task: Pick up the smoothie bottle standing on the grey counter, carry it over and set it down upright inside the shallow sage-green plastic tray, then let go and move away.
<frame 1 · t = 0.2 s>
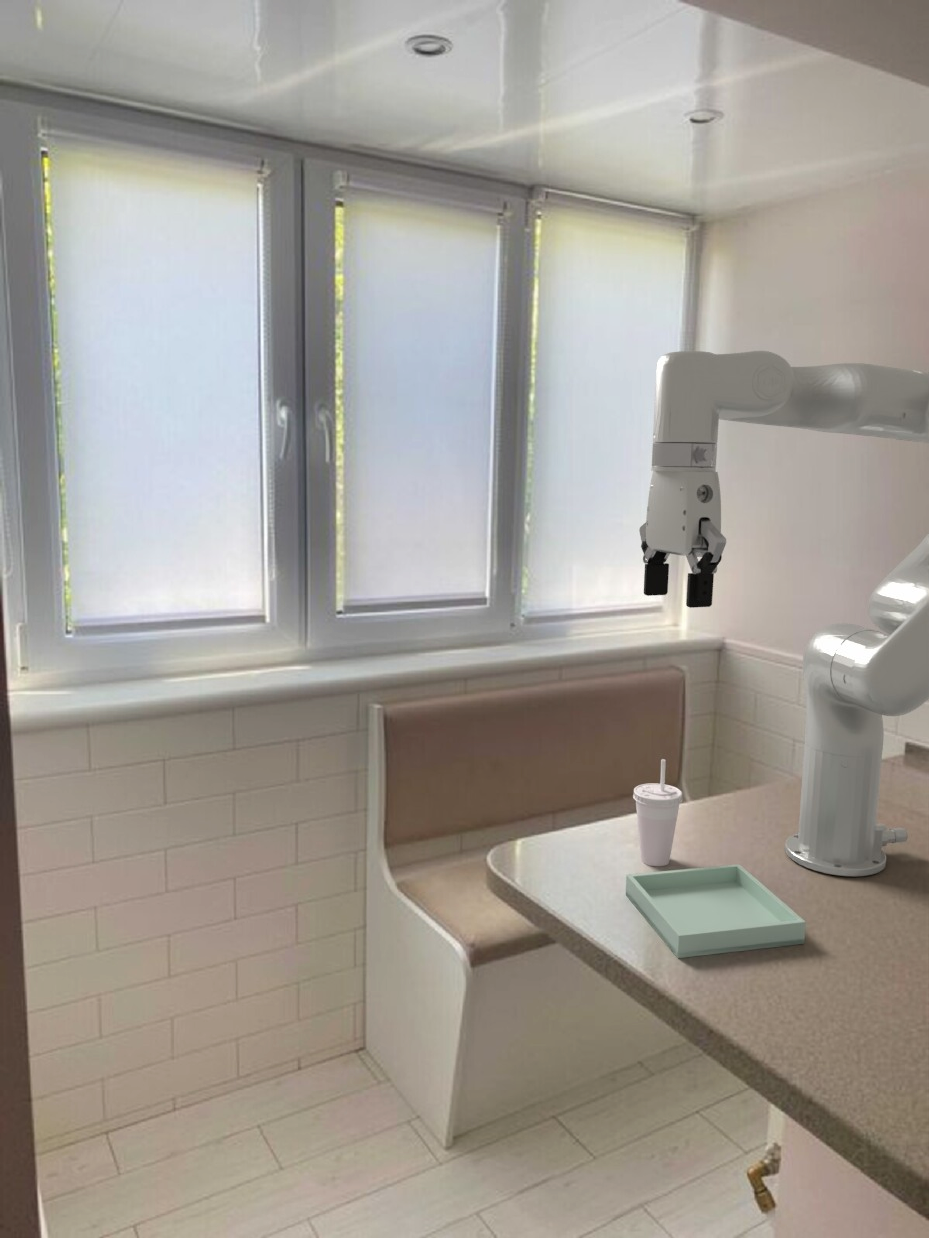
hand: (676, 600, 114), 36 cm above the table, tool pointing down, fingers open, 9 cm apart
smoothie: (655, 861, 124), on the table
tray: (710, 917, 109), on the table
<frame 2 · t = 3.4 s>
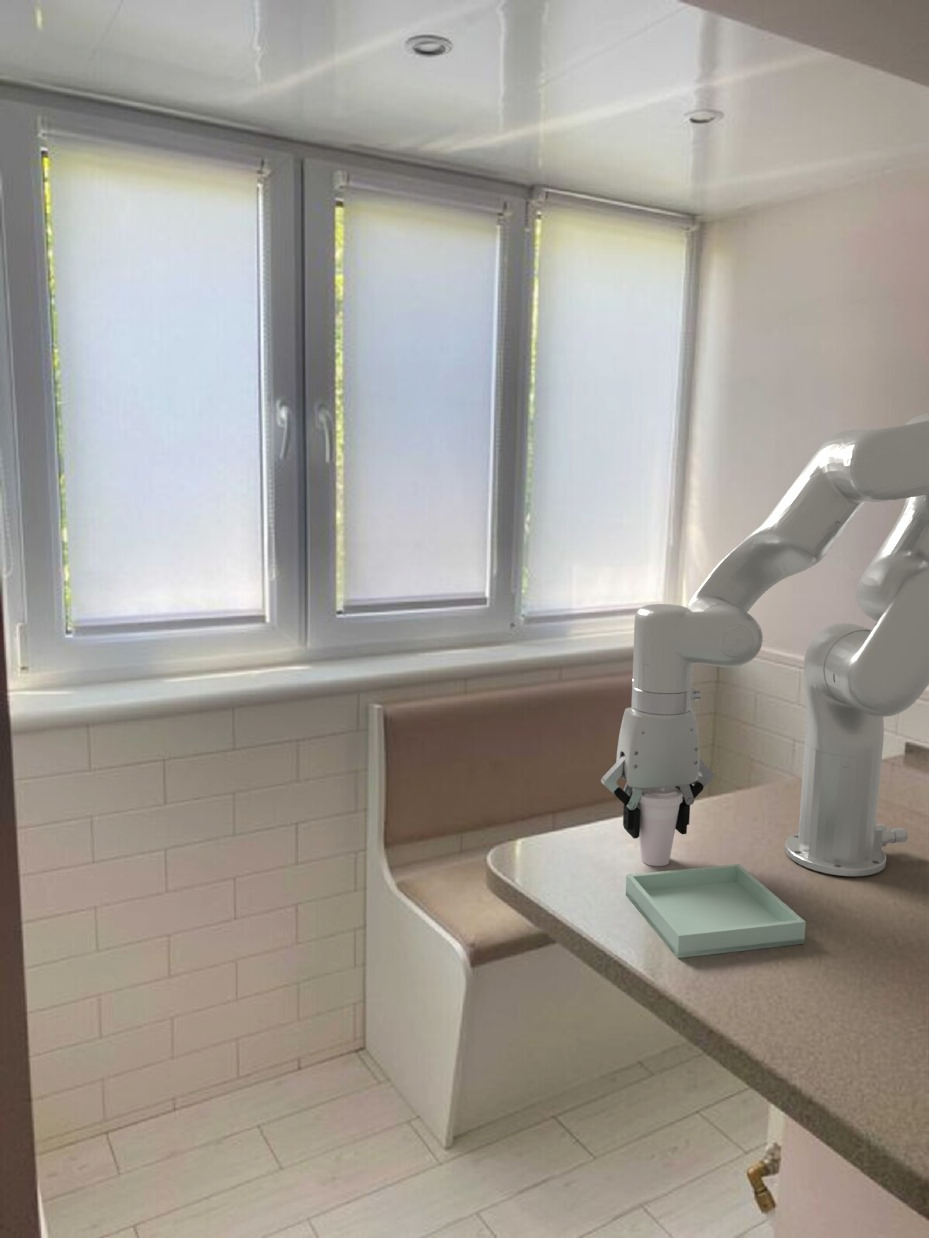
hand: (655, 831, 123), 4 cm above the table, tool pointing down, fingers closed on smoothie, 6 cm apart
smoothie: (654, 861, 124), on the table, touching gripper
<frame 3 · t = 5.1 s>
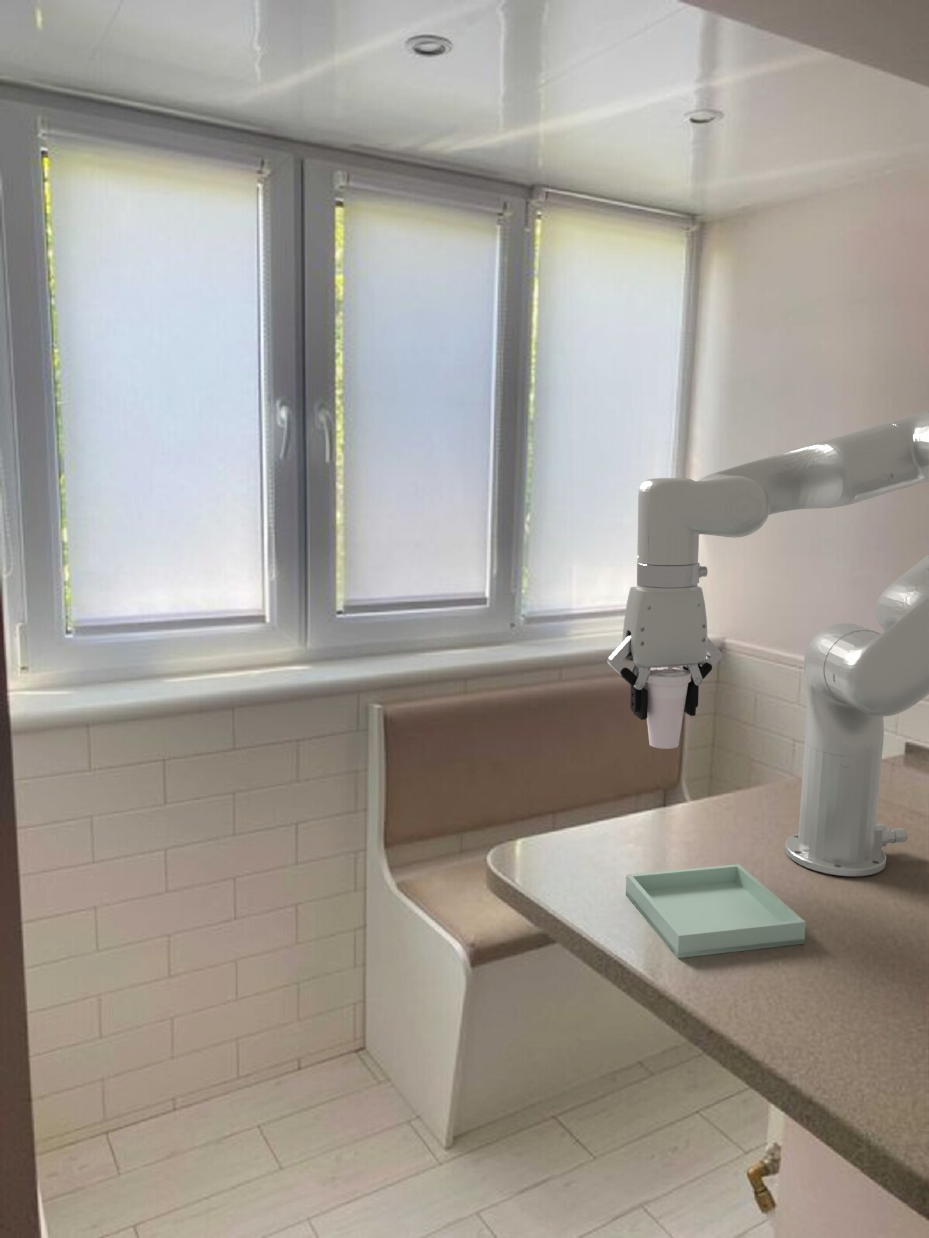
hand: (664, 713, 121), 20 cm above the table, tool pointing down, fingers closed on smoothie, 6 cm apart
smoothie: (663, 745, 121), point 16 cm above the table, touching gripper
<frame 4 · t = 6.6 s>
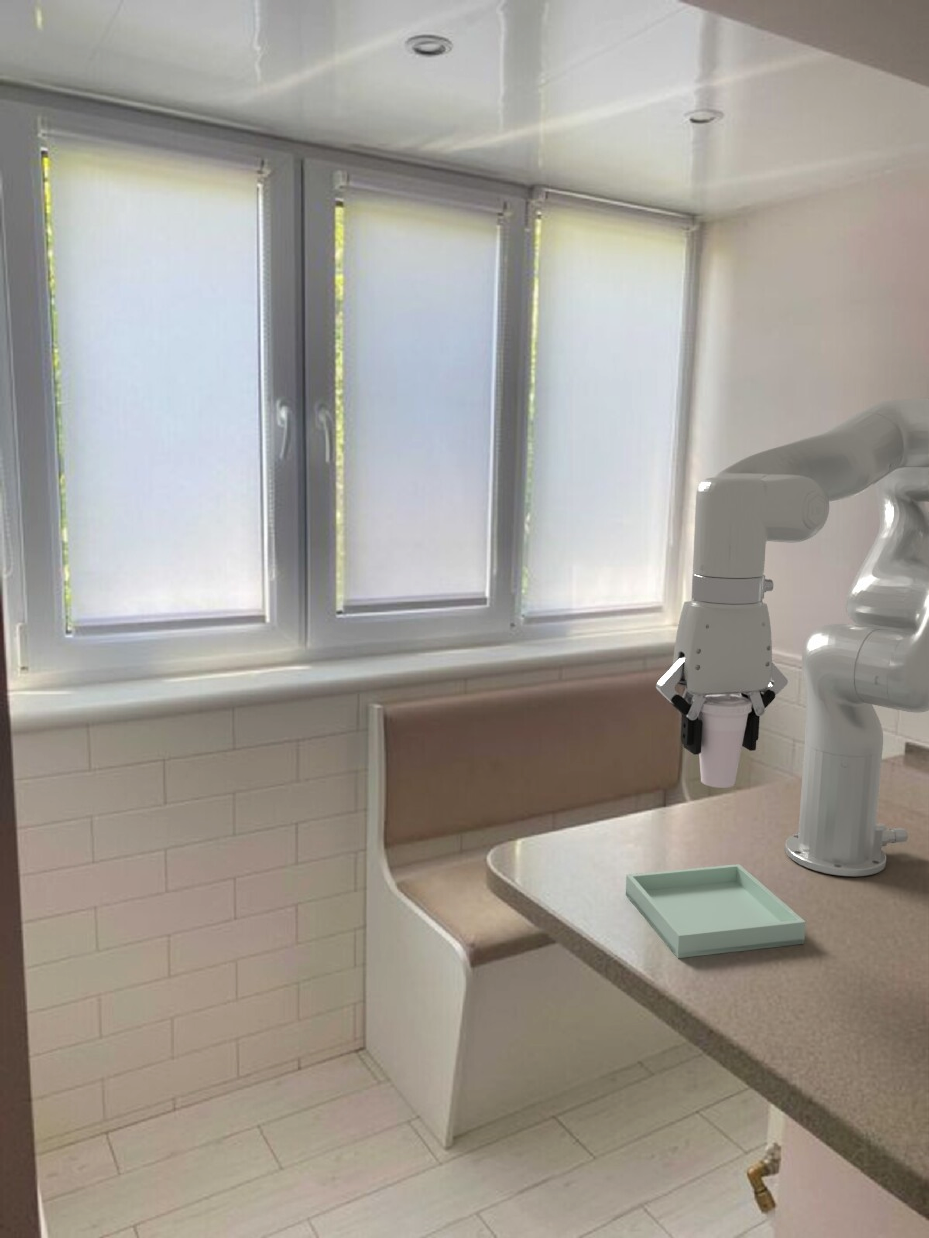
hand: (719, 747, 105), 21 cm above the table, tool pointing down, fingers closed on smoothie, 6 cm apart
smoothie: (717, 783, 106), point 16 cm above the table, touching gripper
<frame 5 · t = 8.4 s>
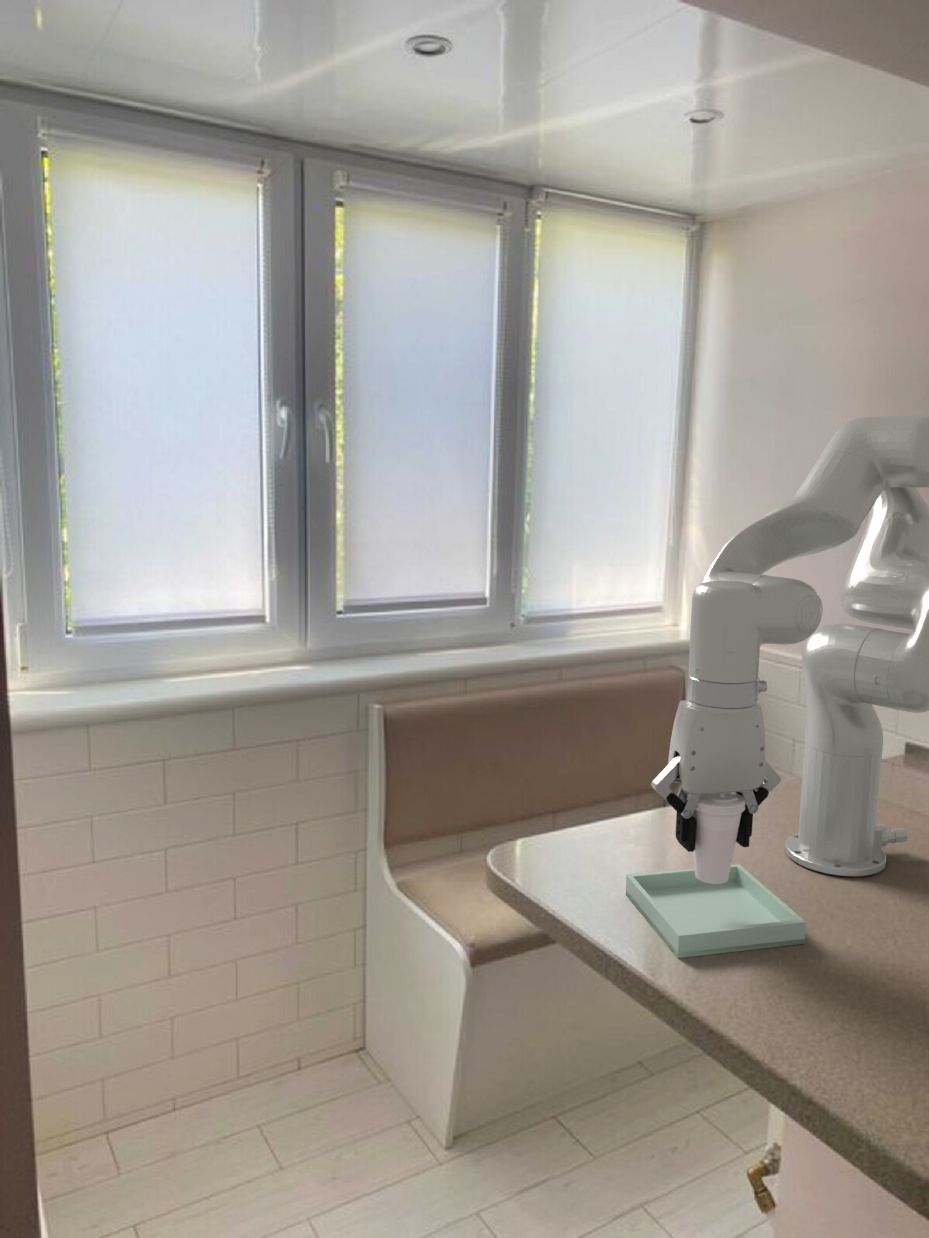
hand: (713, 843, 107), 9 cm above the table, tool pointing down, fingers closed on smoothie, 6 cm apart
smoothie: (711, 878, 108), point 5 cm above the table, touching gripper
when the fingers open (6 cm above the table, at t = 10.1 s): smoothie stays where it is, resting on tray.
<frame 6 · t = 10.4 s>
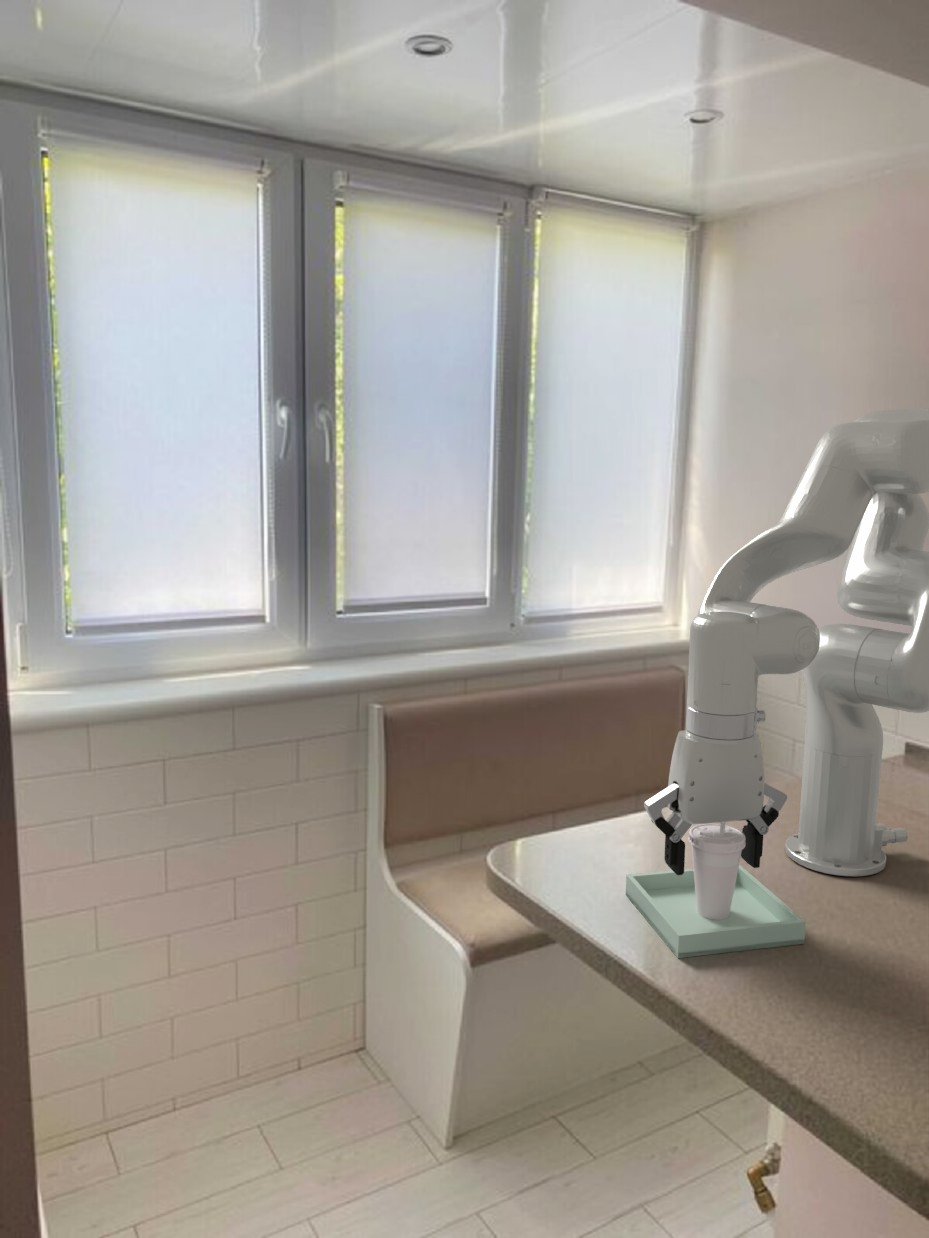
hand: (712, 866, 108), 6 cm above the table, tool pointing down, fingers open, 9 cm apart
smoothie: (712, 913, 109), resting on tray
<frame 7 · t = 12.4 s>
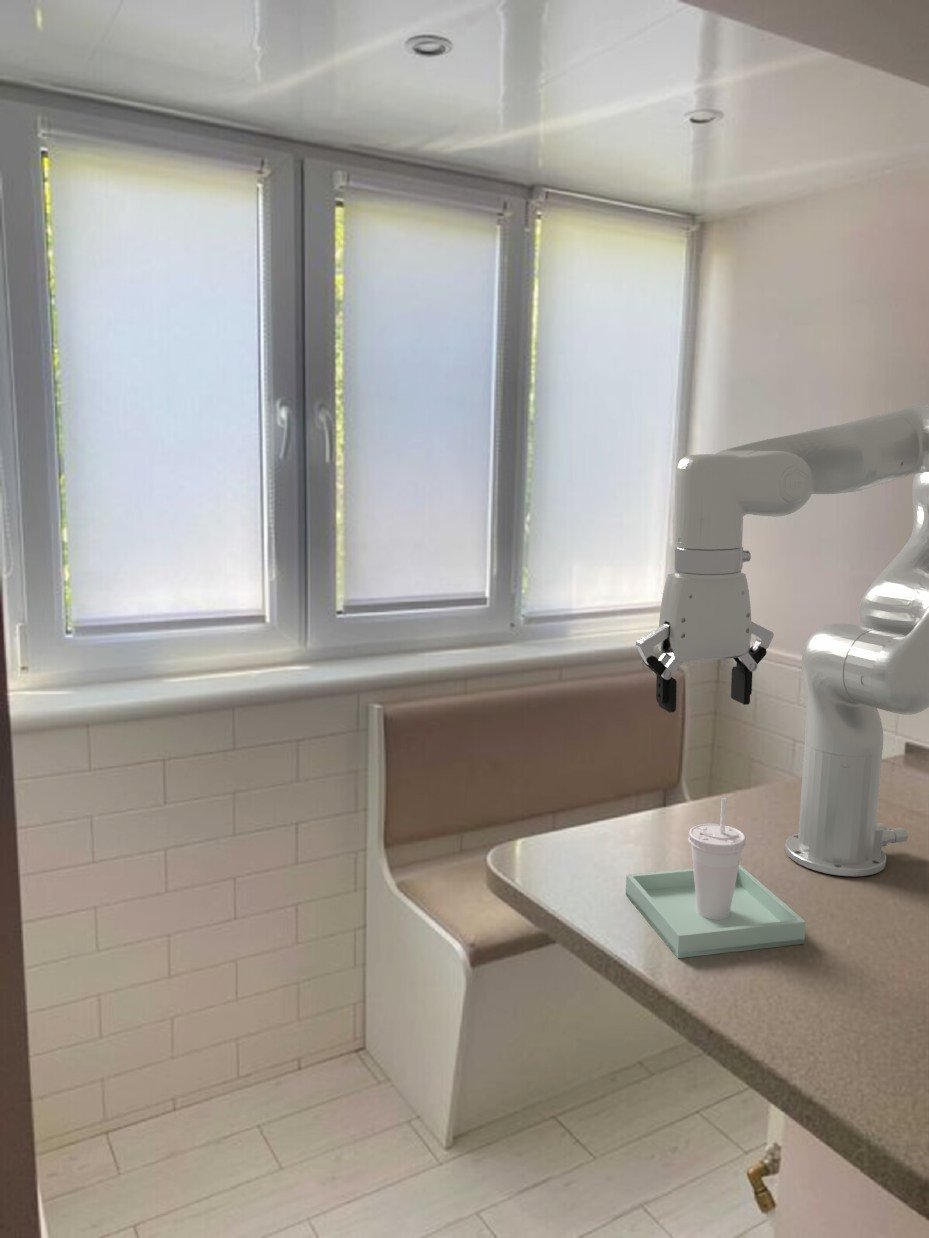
hand: (703, 705, 111), 24 cm above the table, tool pointing down, fingers open, 9 cm apart
nothing on the table moved.
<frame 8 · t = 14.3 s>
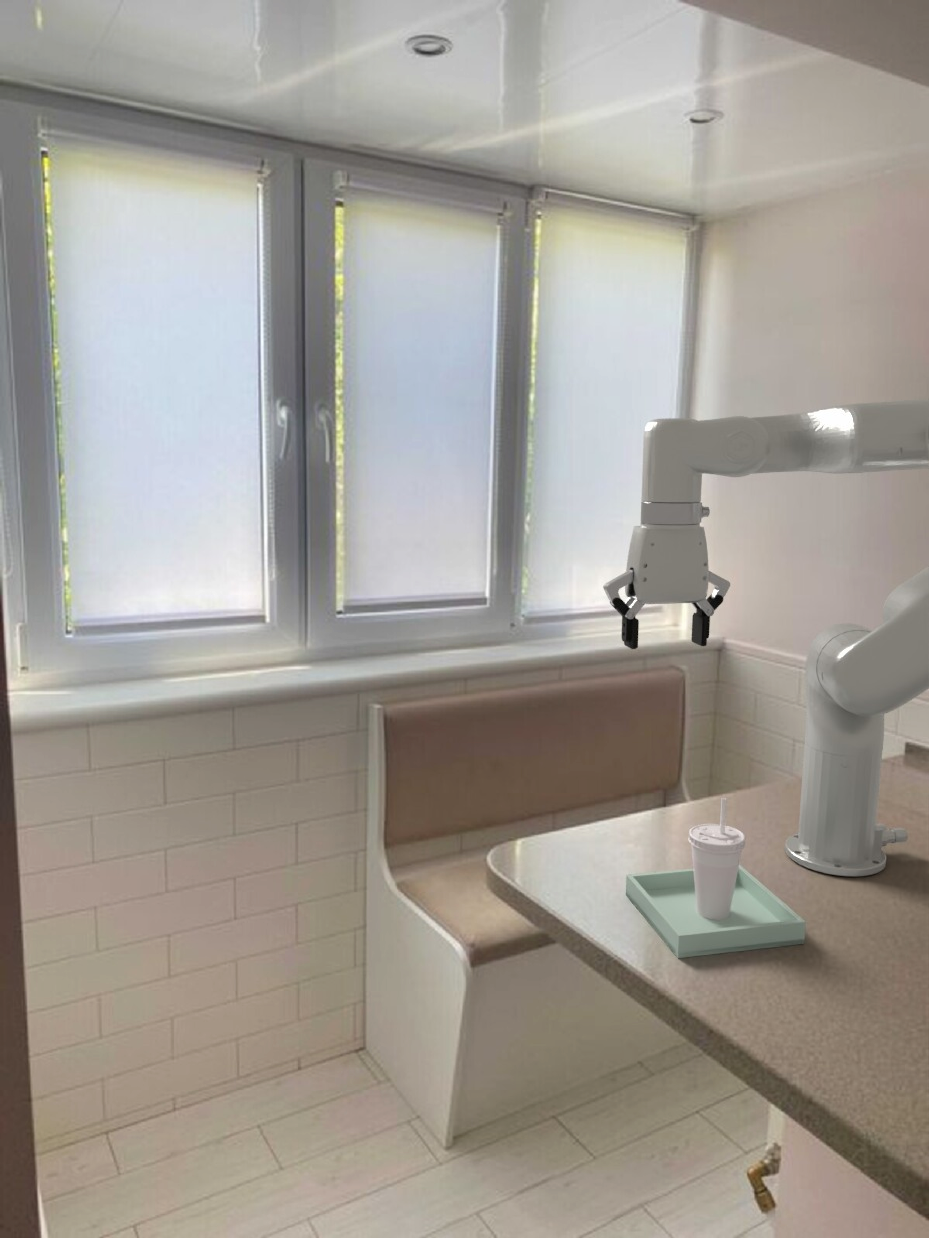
hand: (665, 645, 124), 28 cm above the table, tool pointing down, fingers open, 9 cm apart
nothing on the table moved.
at the end: smoothie inside the target area on the tray (0.4 cm from its centre), point 0.4 cm above the tray's base; smoothie tilted 0°; the gripper is holding nothing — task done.
